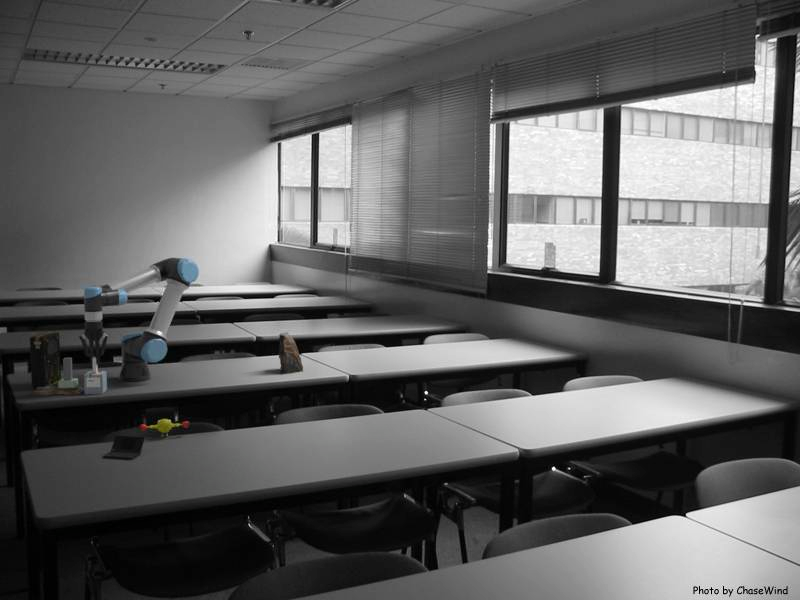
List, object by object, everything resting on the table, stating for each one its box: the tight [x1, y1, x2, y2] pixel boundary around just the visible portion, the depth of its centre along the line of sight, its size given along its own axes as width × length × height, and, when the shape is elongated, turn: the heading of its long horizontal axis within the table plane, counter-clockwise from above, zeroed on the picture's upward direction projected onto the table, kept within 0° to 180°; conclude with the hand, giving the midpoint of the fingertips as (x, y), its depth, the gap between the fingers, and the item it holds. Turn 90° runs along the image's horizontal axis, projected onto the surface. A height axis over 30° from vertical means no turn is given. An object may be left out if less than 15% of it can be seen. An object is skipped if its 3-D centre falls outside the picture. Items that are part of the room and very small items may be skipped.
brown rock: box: [278, 331, 304, 375], centre depth 412 cm, size 13×13×20 cm
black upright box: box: [29, 331, 62, 390], centre depth 370 cm, size 16×9×25 cm, turn 177°
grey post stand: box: [57, 357, 79, 388], centre depth 357 cm, size 7×6×13 cm
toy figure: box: [138, 418, 190, 438], centre depth 290 cm, size 18×6×7 cm, turn 109°
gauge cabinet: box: [83, 370, 108, 395], centre depth 359 cm, size 8×8×9 cm
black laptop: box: [102, 435, 145, 461], centre depth 268 cm, size 12×7×10 cm
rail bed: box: [33, 385, 83, 396], centre depth 357 cm, size 19×7×3 cm, turn 98°
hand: (95, 371), depth 359 cm, fingers closed
